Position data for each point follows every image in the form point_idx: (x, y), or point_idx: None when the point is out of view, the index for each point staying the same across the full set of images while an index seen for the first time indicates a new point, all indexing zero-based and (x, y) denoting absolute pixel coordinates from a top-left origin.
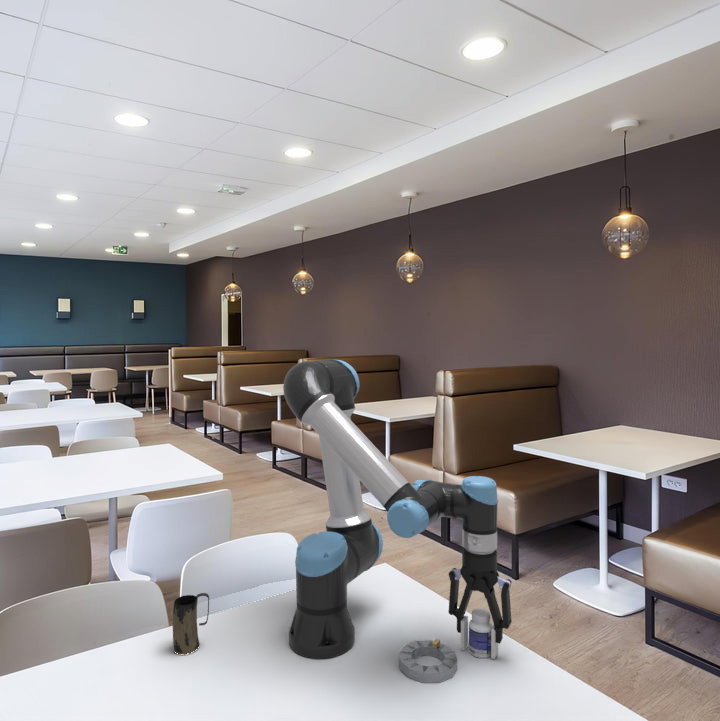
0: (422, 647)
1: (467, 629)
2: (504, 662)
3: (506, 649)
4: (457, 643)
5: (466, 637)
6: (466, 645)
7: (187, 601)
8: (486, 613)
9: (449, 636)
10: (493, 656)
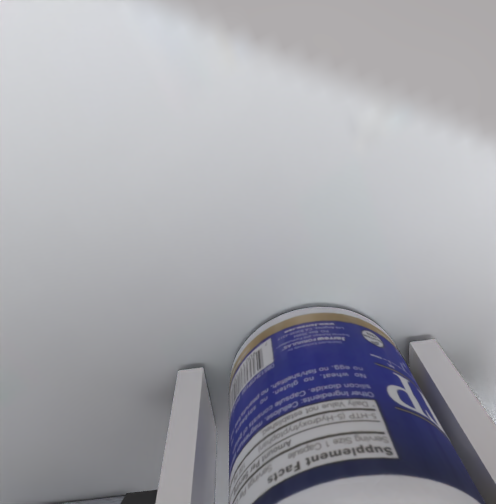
0: None
1: (195, 484)
2: (491, 385)
3: (477, 243)
4: (128, 378)
5: (205, 453)
6: (208, 401)
7: None
8: None
9: (23, 338)
10: None
